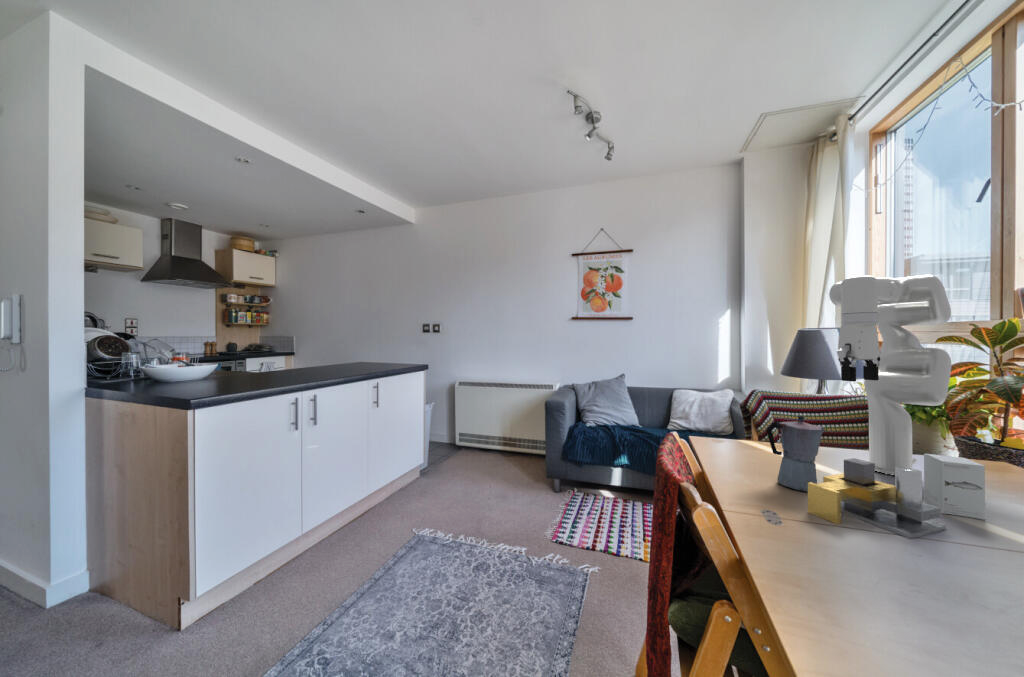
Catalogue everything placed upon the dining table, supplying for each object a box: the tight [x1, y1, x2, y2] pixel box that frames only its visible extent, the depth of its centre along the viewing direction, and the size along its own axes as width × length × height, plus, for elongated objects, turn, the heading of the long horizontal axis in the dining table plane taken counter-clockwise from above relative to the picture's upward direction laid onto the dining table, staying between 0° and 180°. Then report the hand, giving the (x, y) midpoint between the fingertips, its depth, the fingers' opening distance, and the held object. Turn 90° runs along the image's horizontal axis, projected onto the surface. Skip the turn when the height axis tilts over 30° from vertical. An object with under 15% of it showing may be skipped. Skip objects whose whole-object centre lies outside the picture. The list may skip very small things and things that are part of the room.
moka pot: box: [766, 415, 827, 493], centre depth 101 cm, size 10×15×20 cm, turn 89°
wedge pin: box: [843, 457, 876, 512], centre depth 87 cm, size 4×4×11 cm
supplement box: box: [923, 453, 986, 521], centre depth 87 cm, size 7×7×13 cm
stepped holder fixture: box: [807, 467, 947, 539], centre depth 83 cm, size 21×16×12 cm
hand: (859, 380), depth 101 cm, fingers open, 9 cm apart
